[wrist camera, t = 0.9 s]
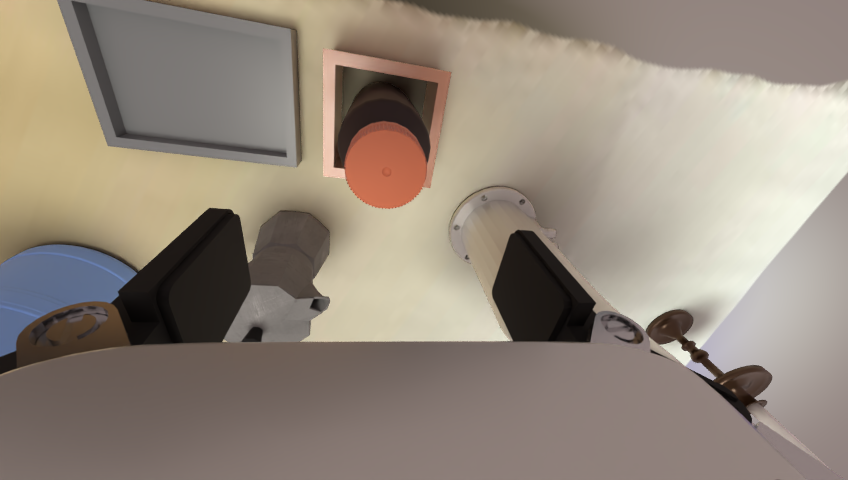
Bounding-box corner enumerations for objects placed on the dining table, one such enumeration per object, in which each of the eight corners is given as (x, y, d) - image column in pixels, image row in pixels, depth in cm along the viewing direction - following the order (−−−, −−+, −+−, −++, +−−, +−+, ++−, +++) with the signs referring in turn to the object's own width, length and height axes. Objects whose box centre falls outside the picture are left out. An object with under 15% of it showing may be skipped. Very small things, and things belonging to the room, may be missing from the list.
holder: (438, 69, 33) (451, 72, 27) (422, 167, 39) (430, 187, 33) (333, 49, 31) (323, 48, 25) (332, 156, 37) (323, 176, 31)
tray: (296, 30, 30) (290, 28, 28) (301, 160, 36) (296, 167, 34) (77, -13, 26) (50, -19, 24) (125, 140, 33) (108, 146, 31)
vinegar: (348, 81, 33) (316, 111, 16) (411, 81, 33) (445, 108, 17) (355, 145, 36) (336, 226, 19) (412, 144, 37) (441, 219, 20)
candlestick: (674, 299, 58) (980, 552, 29) (704, 315, 62) (1000, 553, 33) (630, 335, 63) (857, 589, 33) (661, 349, 66) (888, 586, 37)
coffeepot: (330, 196, 39) (299, 287, 24) (355, 254, 44) (342, 360, 29) (214, 227, 39) (110, 337, 24) (252, 281, 44) (186, 401, 29)
